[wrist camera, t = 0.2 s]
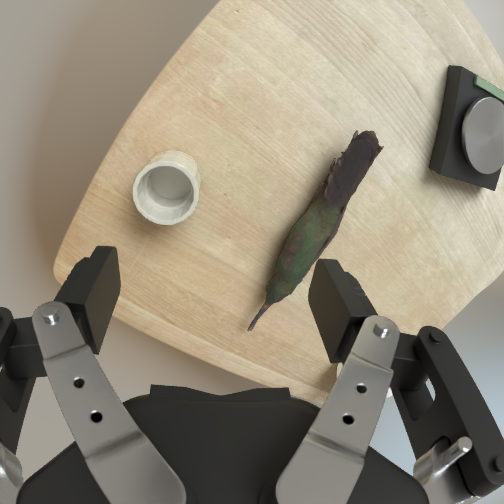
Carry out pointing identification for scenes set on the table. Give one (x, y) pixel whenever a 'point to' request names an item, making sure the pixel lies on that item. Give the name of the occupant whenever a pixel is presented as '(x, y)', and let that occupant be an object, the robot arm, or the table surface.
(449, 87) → the scale
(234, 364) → the table surface
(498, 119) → the pan
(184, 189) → the white cup
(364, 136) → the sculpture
